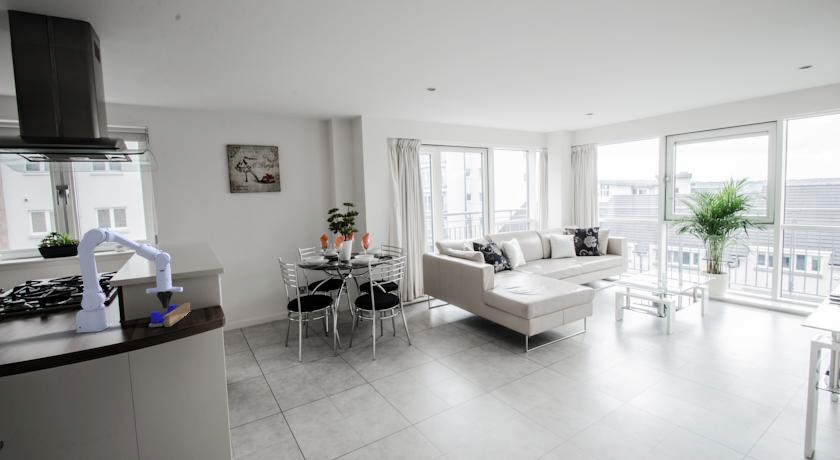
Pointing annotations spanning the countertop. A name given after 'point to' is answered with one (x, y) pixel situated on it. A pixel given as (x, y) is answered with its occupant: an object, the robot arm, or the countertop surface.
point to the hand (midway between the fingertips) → (165, 307)
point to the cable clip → (157, 317)
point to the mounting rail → (157, 324)
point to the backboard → (176, 314)
